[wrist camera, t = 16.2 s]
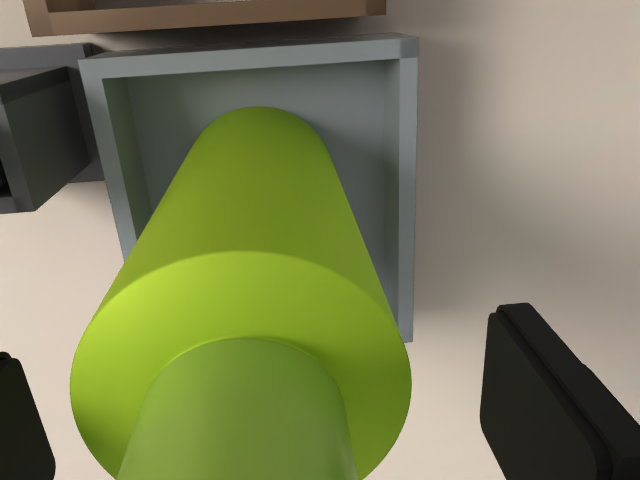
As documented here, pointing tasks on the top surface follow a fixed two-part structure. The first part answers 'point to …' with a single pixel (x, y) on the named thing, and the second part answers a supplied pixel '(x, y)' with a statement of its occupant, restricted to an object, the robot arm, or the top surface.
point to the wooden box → (183, 14)
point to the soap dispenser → (245, 323)
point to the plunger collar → (44, 124)
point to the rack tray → (277, 92)
